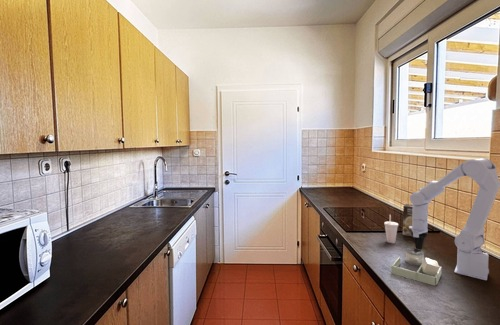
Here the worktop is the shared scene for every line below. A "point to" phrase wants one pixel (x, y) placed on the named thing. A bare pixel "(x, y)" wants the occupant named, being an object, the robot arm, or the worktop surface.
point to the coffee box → (407, 219)
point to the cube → (430, 266)
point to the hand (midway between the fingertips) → (418, 248)
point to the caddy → (415, 274)
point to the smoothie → (391, 230)
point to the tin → (414, 257)
